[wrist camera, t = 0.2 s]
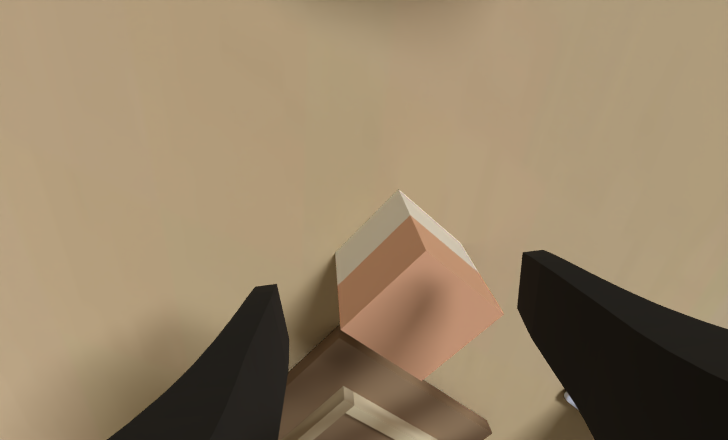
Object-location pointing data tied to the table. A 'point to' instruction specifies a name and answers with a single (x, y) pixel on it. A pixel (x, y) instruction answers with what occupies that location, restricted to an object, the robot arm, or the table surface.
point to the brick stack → (410, 289)
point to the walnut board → (368, 399)
